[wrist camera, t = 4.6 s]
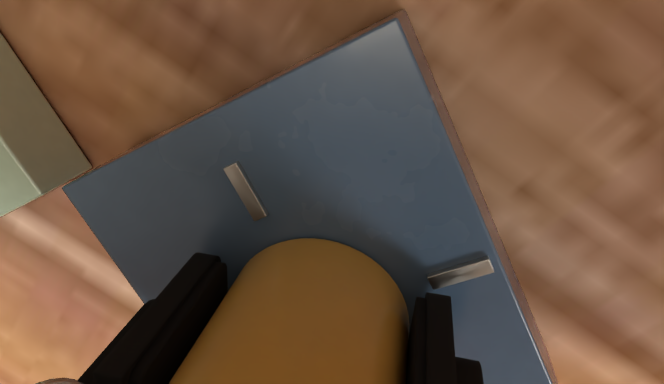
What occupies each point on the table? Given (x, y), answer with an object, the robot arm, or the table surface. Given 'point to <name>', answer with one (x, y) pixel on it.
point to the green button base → (31, 139)
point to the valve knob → (304, 322)
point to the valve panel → (326, 192)
